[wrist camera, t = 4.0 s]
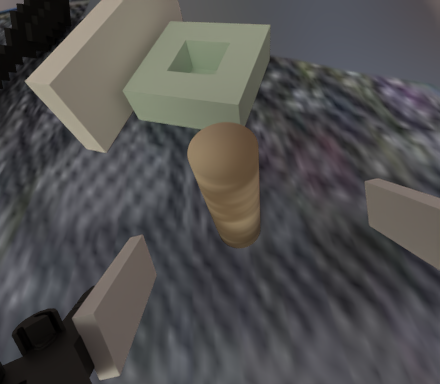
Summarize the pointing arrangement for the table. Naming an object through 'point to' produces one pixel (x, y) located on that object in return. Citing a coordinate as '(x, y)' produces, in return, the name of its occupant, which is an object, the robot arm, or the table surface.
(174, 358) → the table surface
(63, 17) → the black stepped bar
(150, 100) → the socket block
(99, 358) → the robot arm
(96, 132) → the backstop board
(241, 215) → the wooden cylinder peg
